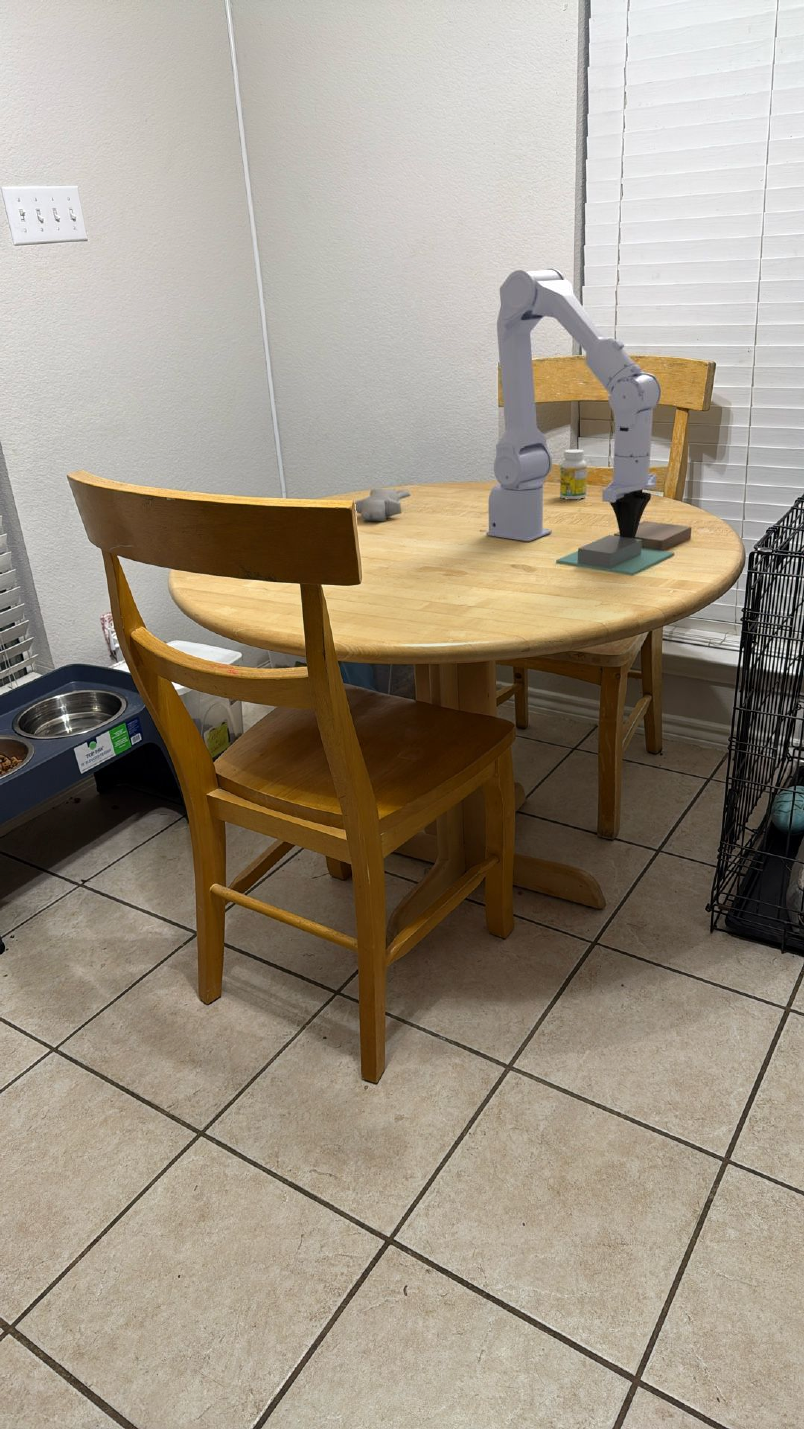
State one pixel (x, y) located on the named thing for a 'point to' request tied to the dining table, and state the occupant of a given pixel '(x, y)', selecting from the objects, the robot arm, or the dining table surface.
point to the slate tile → (609, 551)
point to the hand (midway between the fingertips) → (627, 537)
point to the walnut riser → (661, 535)
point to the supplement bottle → (573, 475)
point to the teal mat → (628, 567)
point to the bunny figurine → (381, 504)
